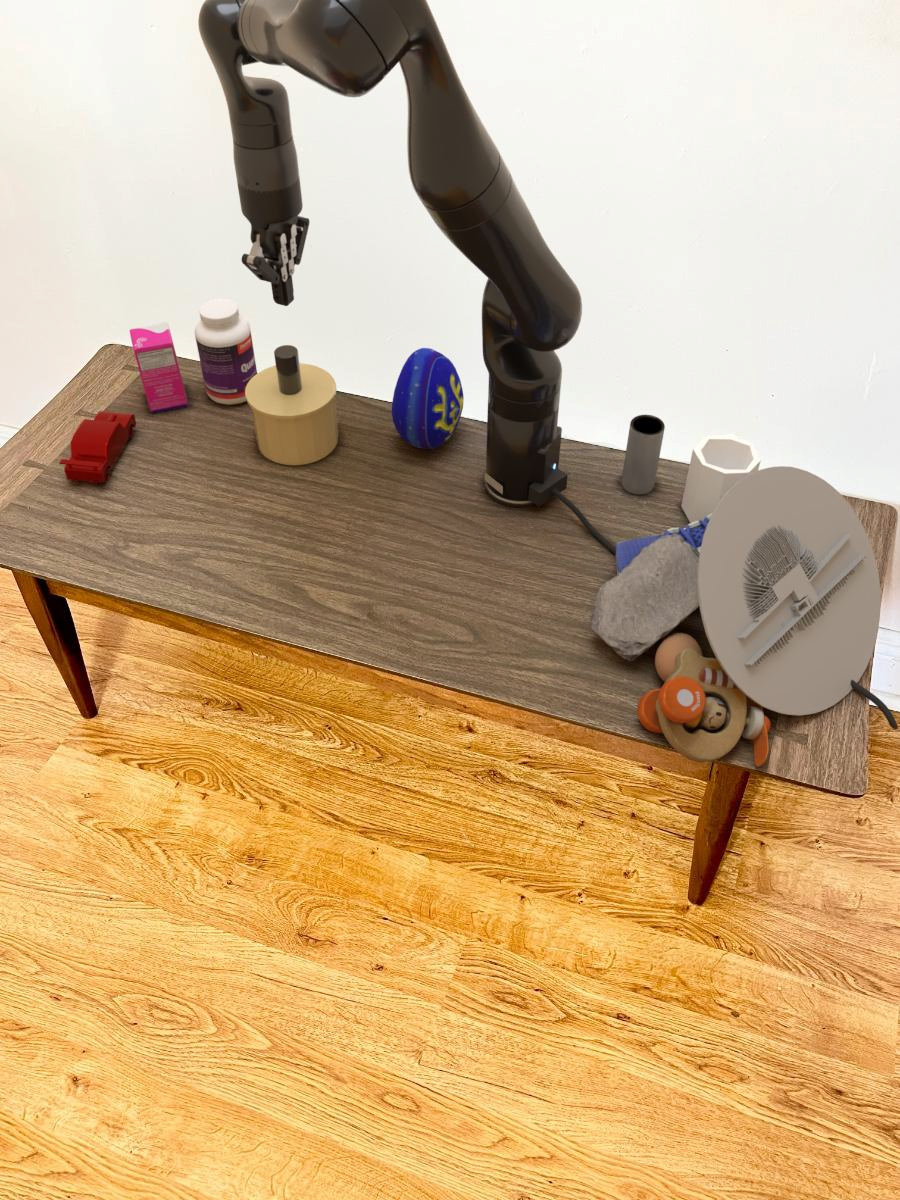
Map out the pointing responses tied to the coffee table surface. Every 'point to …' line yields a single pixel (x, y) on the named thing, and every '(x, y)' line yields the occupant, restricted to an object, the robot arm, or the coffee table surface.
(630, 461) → the grey hollow tube
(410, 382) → the ornament
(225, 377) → the pill bottle
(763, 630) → the plate
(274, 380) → the lid
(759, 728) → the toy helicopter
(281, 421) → the pot
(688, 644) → the egg
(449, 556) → the coffee table surface
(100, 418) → the toy car
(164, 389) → the supplement box
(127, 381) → the coffee table surface
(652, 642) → the stone
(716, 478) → the mug
